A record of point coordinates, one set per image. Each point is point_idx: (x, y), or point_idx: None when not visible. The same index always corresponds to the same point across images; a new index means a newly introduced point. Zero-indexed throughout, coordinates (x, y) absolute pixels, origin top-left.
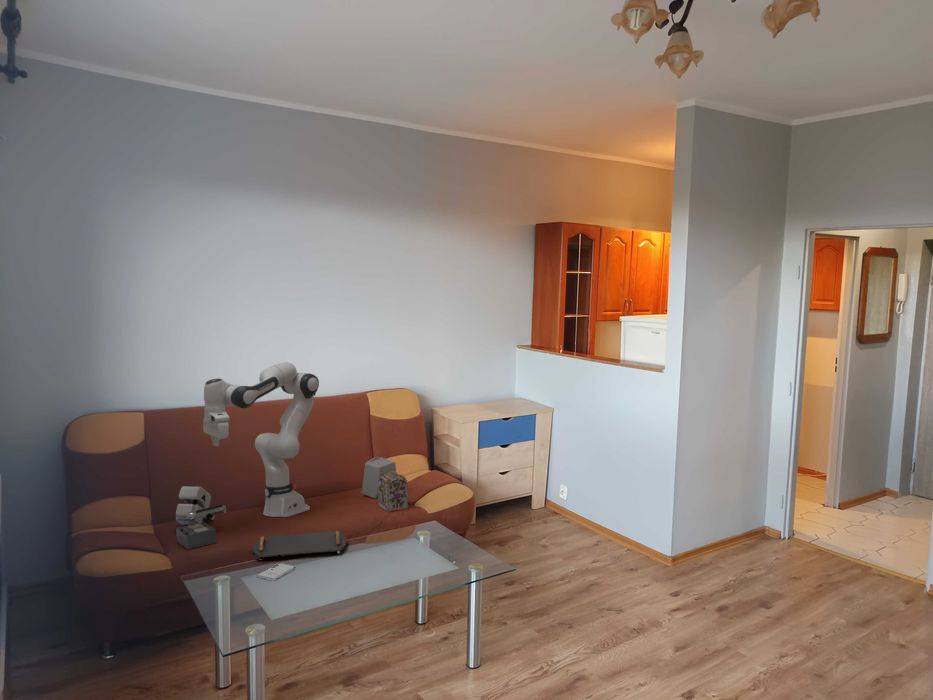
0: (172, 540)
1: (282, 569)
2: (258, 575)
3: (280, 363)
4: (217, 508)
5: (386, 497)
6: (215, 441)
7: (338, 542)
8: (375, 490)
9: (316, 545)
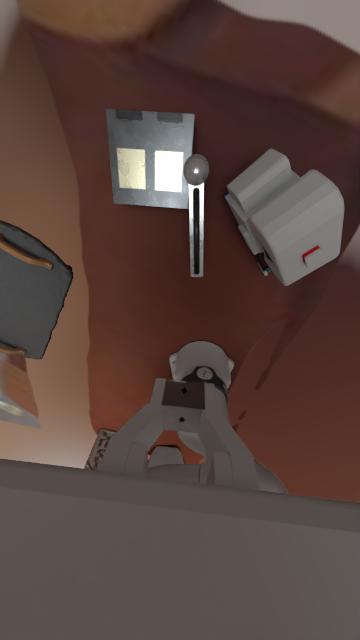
0: (211, 121)
1: None
2: None
3: None
4: (190, 254)
5: (96, 446)
6: (137, 414)
7: None
8: (153, 457)
9: None
